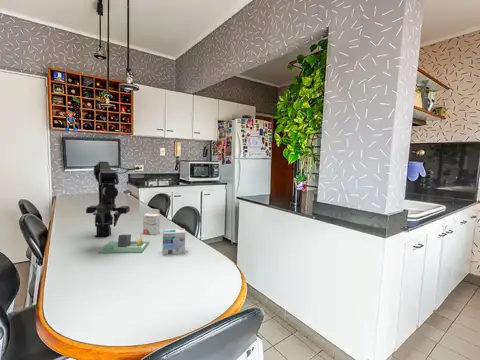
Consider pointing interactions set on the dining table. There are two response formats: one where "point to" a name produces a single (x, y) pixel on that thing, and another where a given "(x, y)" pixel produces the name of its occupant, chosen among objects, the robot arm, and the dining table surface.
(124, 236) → the block
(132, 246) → the board
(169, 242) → the light bulb box
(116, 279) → the dining table surface
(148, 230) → the ink cartridge box
